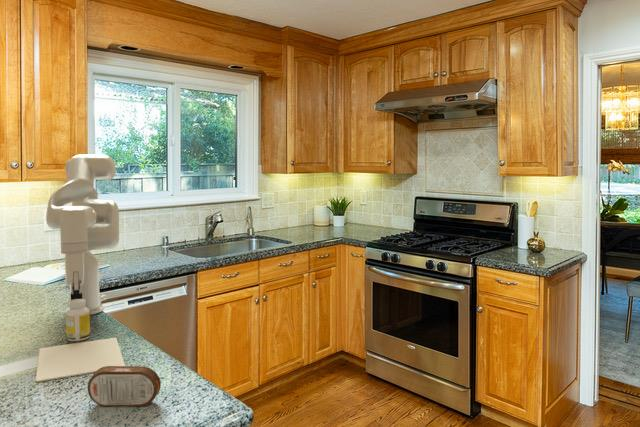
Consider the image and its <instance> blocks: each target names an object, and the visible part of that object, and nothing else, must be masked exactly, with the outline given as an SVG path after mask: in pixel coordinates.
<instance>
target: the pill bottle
mask: <svg viewBox="0 0 640 427" xmlns="http://www.w3.org/2000/svg"><path fill="white" fill-rule="evenodd" d="M67 303H68V304H67V306H68V308H69V309H68V310H67V311H66V310H65V315H64V316H65V333H66V334H65V335H66V340H67V341H70V342H81V341H84V340H87V339H89V338H90V337H91V320H90V319H91V318H90V317H91V315H90V314H89V309H88V308H87V307H85V305H86V300H85V299H74V300H70V299H69V300H68V301H67Z"/></svg>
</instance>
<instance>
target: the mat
mask: <svg viewBox="0 0 640 427" xmlns="http://www.w3.org/2000/svg"><path fill="white" fill-rule="evenodd" d="M37 360H38V361H37V368H36V377H35V383H41V382H42V383H43V382H47V381H52V380H53V381H54V380H58V379H66V378H71V376H72V377H76V376H77V375H78V376H83V375H89V374H94V372H96V371H97V370H98V369H100V368H102V367H105V366H126V364H125V360H124V357H123V355H122V351H121V348H120V345H119V343H118V340H117V337H110V338H104V339H97V340H88V341H83V342H81V341H80V342H75V343H69V344H63V345H62V344H61V345H54V346H47V347H41V348H40V347H39V352H38V359H37Z"/></svg>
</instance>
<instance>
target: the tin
mask: <svg viewBox="0 0 640 427" xmlns="http://www.w3.org/2000/svg"><path fill="white" fill-rule="evenodd" d="M92 374H93V375H92V376H91V377H90V379H89V381H88V383H87V392H88V396H89V398H90V399H91V401H92V402H93V403H95V404H97V405H99V406H101V407H105V406H141V407H145V406H148V405H149V404H151V403H152V402H153V401H154V400H155V398H156V397H157V396H158V394H159V392H160V390H161V384H162V383H161V379H160V376H159V375H158V374H157V372H156V371H155V370H154V369H152V368H150V367H147V366H144V365H138V366H137V365H133V366H131V365H129V366H128V365H125V366H105V367H102V368H100V369H98V370H97V371H96V372H95V373H92Z"/></svg>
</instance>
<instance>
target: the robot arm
mask: <svg viewBox="0 0 640 427" xmlns="http://www.w3.org/2000/svg"><path fill="white" fill-rule="evenodd" d="M64 168H65V177H66V181H65V182H66V183H65V184H63V185H62V186H59V188H58V189H57V190H55V191H54V192H53V193H52V194H51V196H50V197H49V199H48V204H47V209H46V216H45V217H46V218H45V219H46V220H45V221H46V224H47V226H48V227H49V228H50V229H52V230H60V231H59V232H60V233H59V234H60V236H59V237H60V253H61V254H62V255H64V271H65V272H64V273H65V275H64V277H65V286H66V287H69V301H70V300H74V299H85V300H86V305H85V307H87V308H88V309H89V314H90V316H92V315H96V314H99V313H101V312H103V311H105V308H106V307H105V305H104V304H102V302H104V301H105V300H107V299H108V296H107V295H106V294H100V269H99V261H98V258H97V257H96V256H95V255H94V254H93V253H92V252H91V251H96V250H97V251H101V250H112V249H116V248H117V247H118V245H119V242H120V210H119V206H118V204H117V202H115V201H114V200H109V199H99V198H98V196H99V194H98V191H97V190H96V189H95V187H94V184H95V181H98V180H100V181H101V180H103V181H104V180H106V181H109V180H110V181H111V180H113V179H114V177H115V175H116V170H117V169H116V163H115V160H114V159H113V158H112V157H111V156H110V155H105V154H76V155H75V156H72V157H71V158H69V159H68V160H67V161H66V162H65V166H64ZM70 203H71V205H67V204H70ZM68 309H69V307H68V308H66V309H65V312H66V311H67V310H68Z"/></svg>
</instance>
